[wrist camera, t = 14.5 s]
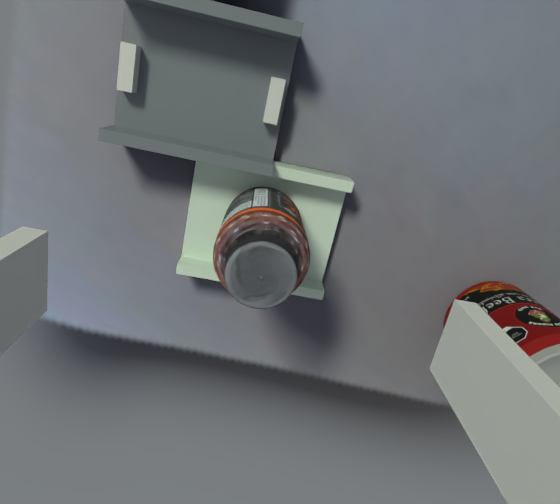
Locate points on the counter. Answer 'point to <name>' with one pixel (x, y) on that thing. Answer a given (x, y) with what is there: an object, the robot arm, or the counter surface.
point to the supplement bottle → (261, 248)
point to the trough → (286, 178)
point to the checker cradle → (203, 82)
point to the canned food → (520, 322)
